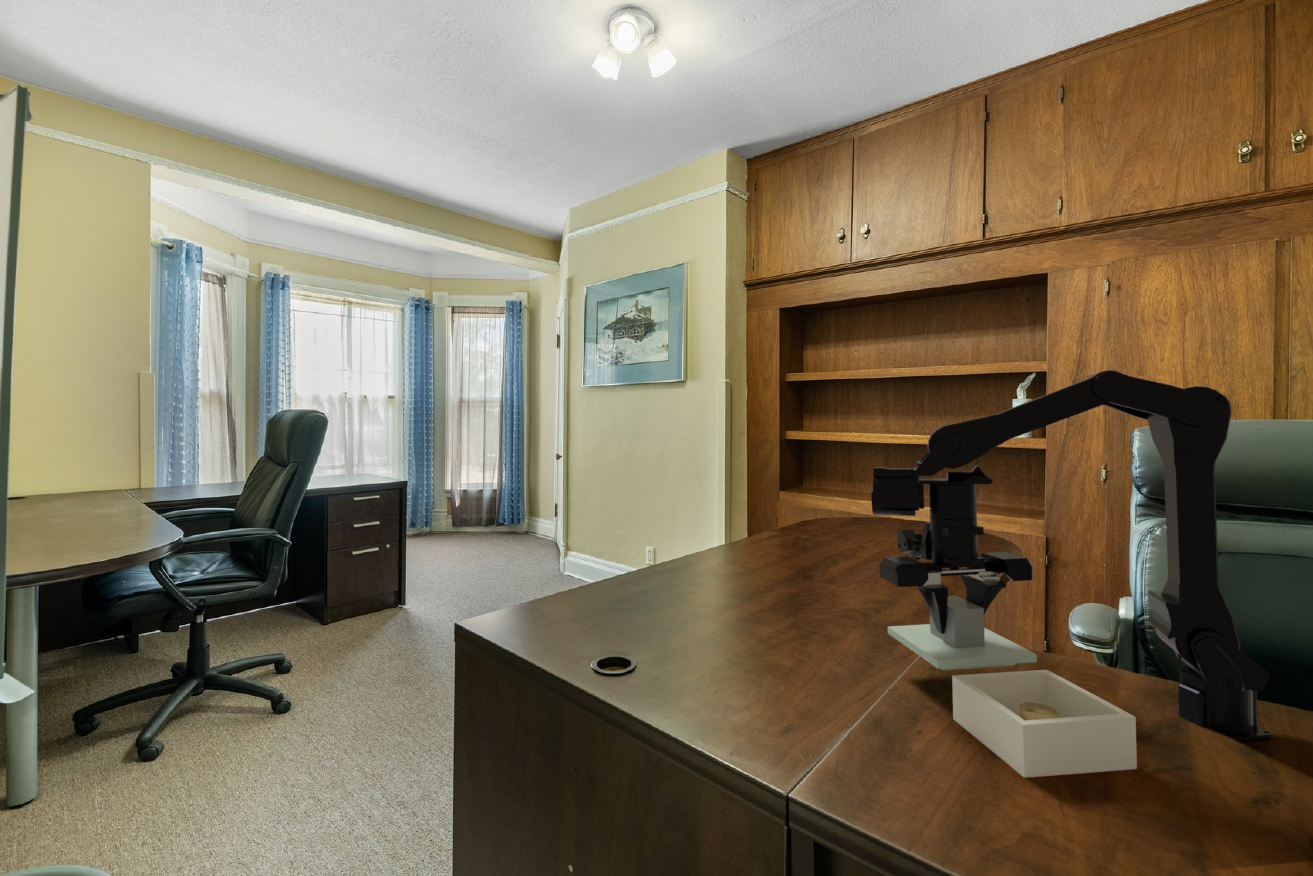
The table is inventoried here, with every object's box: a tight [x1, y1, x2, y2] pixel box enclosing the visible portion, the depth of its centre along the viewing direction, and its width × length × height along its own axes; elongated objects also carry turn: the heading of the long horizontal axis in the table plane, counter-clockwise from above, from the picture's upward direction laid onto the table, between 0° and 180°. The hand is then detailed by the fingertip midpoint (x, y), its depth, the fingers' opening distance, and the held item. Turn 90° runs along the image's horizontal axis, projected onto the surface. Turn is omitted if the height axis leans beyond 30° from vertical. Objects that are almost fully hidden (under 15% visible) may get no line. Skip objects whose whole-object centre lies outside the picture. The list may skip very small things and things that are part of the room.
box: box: [951, 669, 1138, 779], centre depth 64 cm, size 12×12×6 cm
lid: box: [887, 595, 1038, 671], centre depth 79 cm, size 13×13×7 cm
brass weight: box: [1020, 702, 1058, 720], centre depth 66 cm, size 4×4×3 cm
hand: (956, 632), depth 79 cm, fingers closed on lid, 4 cm apart
